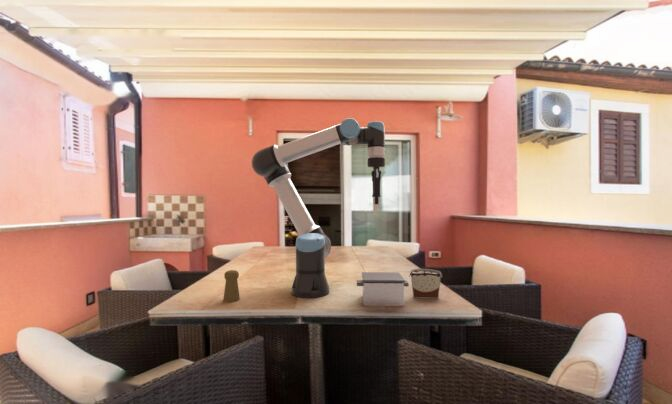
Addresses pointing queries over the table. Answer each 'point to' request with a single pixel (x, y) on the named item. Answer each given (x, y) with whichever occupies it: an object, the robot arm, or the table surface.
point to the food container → (425, 283)
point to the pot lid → (382, 277)
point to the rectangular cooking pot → (383, 293)
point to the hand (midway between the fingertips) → (376, 211)
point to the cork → (231, 286)
